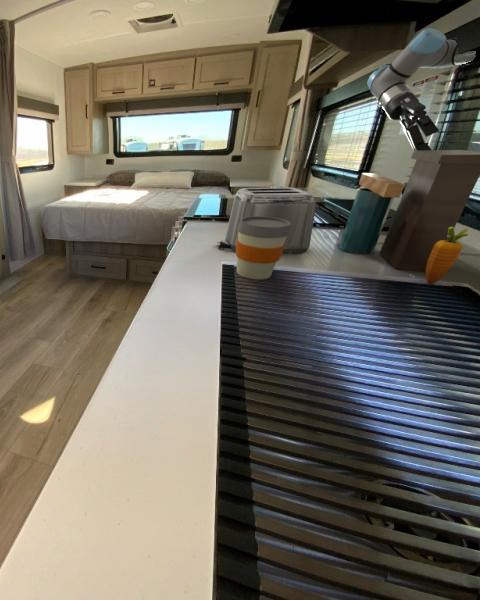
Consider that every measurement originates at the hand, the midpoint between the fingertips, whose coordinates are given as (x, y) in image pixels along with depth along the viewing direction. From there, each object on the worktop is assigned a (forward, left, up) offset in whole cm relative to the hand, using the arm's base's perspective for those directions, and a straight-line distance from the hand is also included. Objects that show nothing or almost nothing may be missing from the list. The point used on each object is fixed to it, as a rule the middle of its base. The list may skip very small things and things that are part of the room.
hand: (431, 147), depth 101 cm
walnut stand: (-2, +23, -30) cm, 38 cm away
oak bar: (+10, +17, -11) cm, 22 cm away
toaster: (+36, +30, -30) cm, 55 cm away
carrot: (-6, +39, -30) cm, 49 cm away
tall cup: (+10, +17, -30) cm, 36 cm away
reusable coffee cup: (+32, +55, -30) cm, 70 cm away
